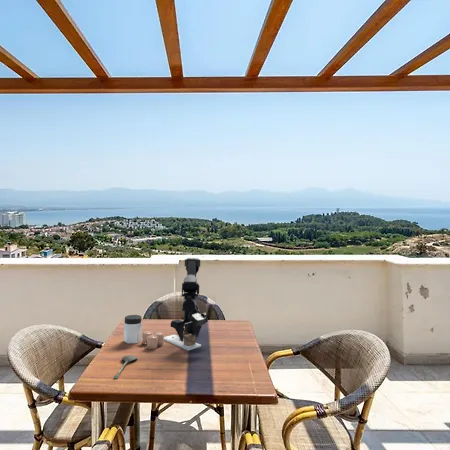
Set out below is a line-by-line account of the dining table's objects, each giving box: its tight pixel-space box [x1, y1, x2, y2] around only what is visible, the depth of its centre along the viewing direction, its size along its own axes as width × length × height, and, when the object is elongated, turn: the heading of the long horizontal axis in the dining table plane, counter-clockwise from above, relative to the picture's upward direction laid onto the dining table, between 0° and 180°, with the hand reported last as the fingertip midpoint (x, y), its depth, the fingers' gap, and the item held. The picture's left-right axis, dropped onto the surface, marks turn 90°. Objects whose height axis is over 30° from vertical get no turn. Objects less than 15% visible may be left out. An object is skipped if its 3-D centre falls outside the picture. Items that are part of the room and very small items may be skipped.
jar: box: [123, 314, 143, 345], centre depth 187 cm, size 9×8×12 cm
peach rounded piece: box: [141, 330, 154, 346], centre depth 185 cm, size 5×5×5 cm
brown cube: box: [183, 333, 196, 346], centre depth 181 cm, size 4×4×4 cm
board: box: [164, 333, 202, 351], centre depth 186 cm, size 8×21×1 cm, turn 45°
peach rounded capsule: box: [153, 331, 165, 347], centre depth 184 cm, size 5×5×5 cm
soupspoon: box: [113, 354, 138, 379], centre depth 156 cm, size 22×3×7 cm
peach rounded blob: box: [146, 334, 159, 350], centre depth 179 cm, size 5×5×5 cm
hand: (189, 339), depth 181 cm, fingers open, 9 cm apart
